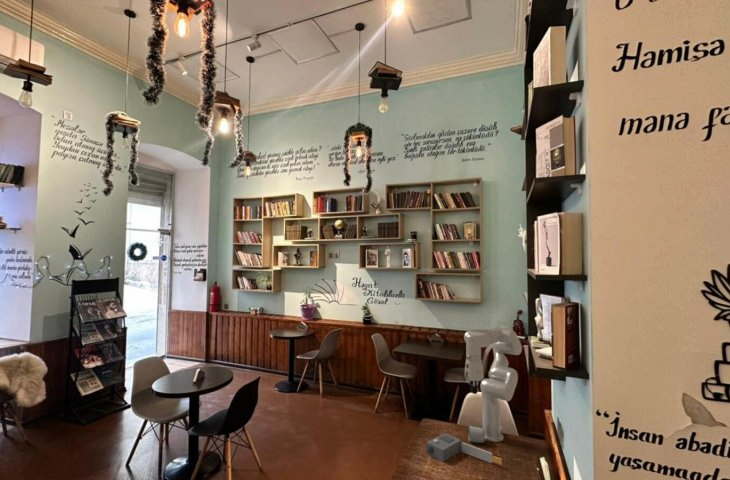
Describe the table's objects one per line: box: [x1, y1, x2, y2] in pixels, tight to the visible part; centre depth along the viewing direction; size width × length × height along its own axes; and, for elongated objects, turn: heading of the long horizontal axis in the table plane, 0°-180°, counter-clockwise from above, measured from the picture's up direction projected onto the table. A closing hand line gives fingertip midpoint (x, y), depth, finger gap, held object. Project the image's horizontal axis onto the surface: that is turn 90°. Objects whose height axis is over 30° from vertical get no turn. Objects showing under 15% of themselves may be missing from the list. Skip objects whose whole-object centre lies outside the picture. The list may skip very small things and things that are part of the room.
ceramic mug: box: [467, 425, 486, 444], centre depth 185 cm, size 11×8×8 cm
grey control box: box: [426, 432, 462, 463], centre depth 170 cm, size 17×10×6 cm, turn 131°
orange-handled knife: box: [460, 441, 503, 466], centre depth 165 cm, size 20×1×4 cm, turn 50°
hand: (473, 392), depth 176 cm, fingers closed
